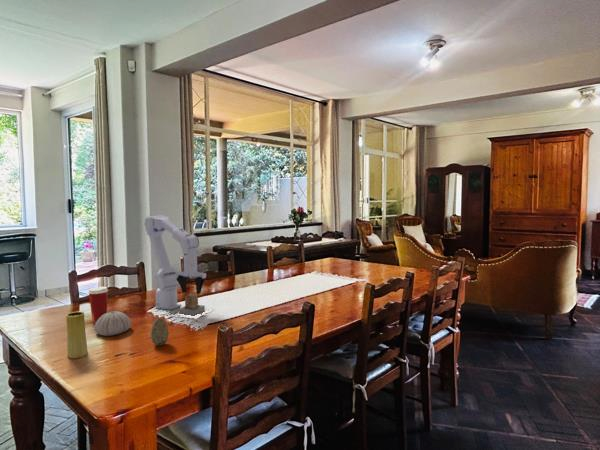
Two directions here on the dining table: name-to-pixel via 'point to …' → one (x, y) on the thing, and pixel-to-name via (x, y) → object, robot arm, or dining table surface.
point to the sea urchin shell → (112, 323)
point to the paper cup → (98, 302)
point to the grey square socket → (193, 310)
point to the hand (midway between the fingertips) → (191, 293)
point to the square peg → (191, 301)
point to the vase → (76, 335)
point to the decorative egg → (159, 332)
